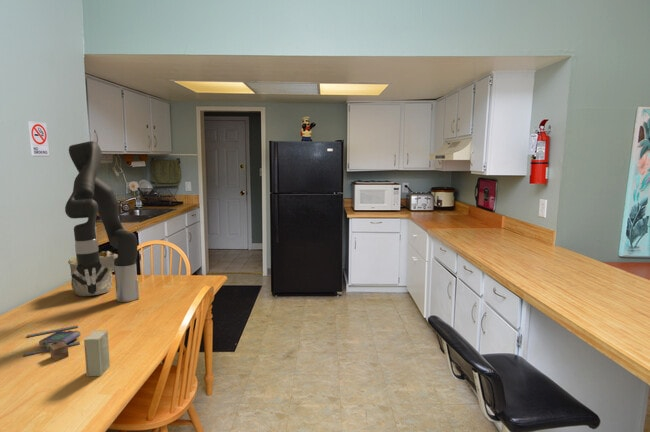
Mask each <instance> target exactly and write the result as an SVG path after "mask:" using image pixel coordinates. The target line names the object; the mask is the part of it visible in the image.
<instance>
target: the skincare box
mask: <svg viewBox="0 0 650 432" xmlns="http://www.w3.org/2000/svg"><path fill="white" fill-rule="evenodd" d="M108 332H109V331H108V330H93V331H92V332H91V333H90V334H88V335H87V336H86V337H85V338H84V339H83V343H84V356H85V357H84V359H85V371H86V372H85V373H86V377H102V376H103V374H104V373H105V372H106V371H107V370H108V369H109V368H110V366H111V362H110V349H109V333H108Z"/></svg>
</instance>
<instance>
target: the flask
mask: <svg viewBox="0 0 650 432" xmlns="http://www.w3.org/2000/svg"><path fill="white" fill-rule="evenodd" d="M80 336H81V331H79V330H74V331H73V330H64V331H57V332H54V333H51V334H50V335H48V336H47V337H44V338H43V339H41V340H40V341H38V342H39V343H38V345H39V346H40V347H44V348H47V349H49V348H50V346H51V345H55V344H58V343H62V342H64V343H66V344H70V342H71V343H72V342H73V341H74V340H76V339H77V338H79V337H80Z"/></svg>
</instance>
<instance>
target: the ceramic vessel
mask: <svg viewBox="0 0 650 432" xmlns="http://www.w3.org/2000/svg"><path fill="white" fill-rule="evenodd" d="M117 257H118V253H115V252H112V251H109V250H105V251H101V252H99V259H100V263H101V264H102V266H103V267H107V268H108V271H107V273H106V274H105V275H104V277H103V278H102V280H101V281H100V282H97V283H96V290H97V291H96V292H95V293H94V294H90V293H89V292H88V288H87V285H82V284H81V283H79V282H78V281H77V280H76V279H74V278H73V277H72V276H71V289H72V290H73V292H74V293H75V295H76V296H79V297H90V296H92V297H93V296H98V295H101V294H106V293H108V292H109V291H111V289H112V286H113V272H115V269H114V259H115V258H117ZM67 263H68V265H69V266H70V267H69V268H70V274H71V273H73V272H75V271H76V268H77V258H76V257H73V258H70V259H69V260H68V262H67ZM100 273H101V269H100V270H99V272H98V273H97V274H96V279H97V277H98V276H99V274H100ZM78 274H79V277H80V278H81V279H83V280H84V281H86V278H85V277H84V276H83V275H81V274H80V273H79V272H78ZM89 277H90V282H91V276H89ZM91 284H92V282H91Z"/></svg>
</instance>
